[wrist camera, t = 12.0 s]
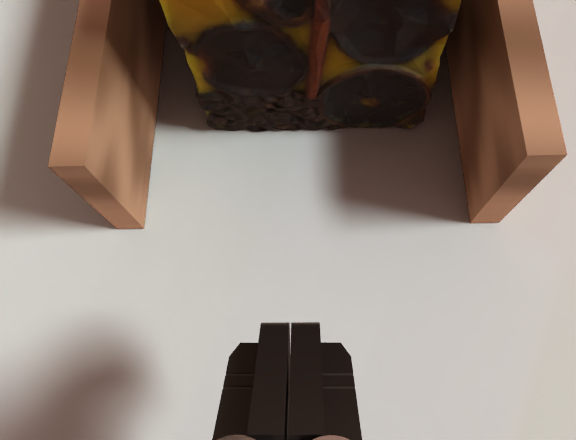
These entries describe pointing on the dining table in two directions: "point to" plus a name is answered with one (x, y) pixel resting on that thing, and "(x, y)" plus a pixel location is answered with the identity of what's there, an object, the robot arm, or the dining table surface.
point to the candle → (312, 60)
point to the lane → (145, 91)
